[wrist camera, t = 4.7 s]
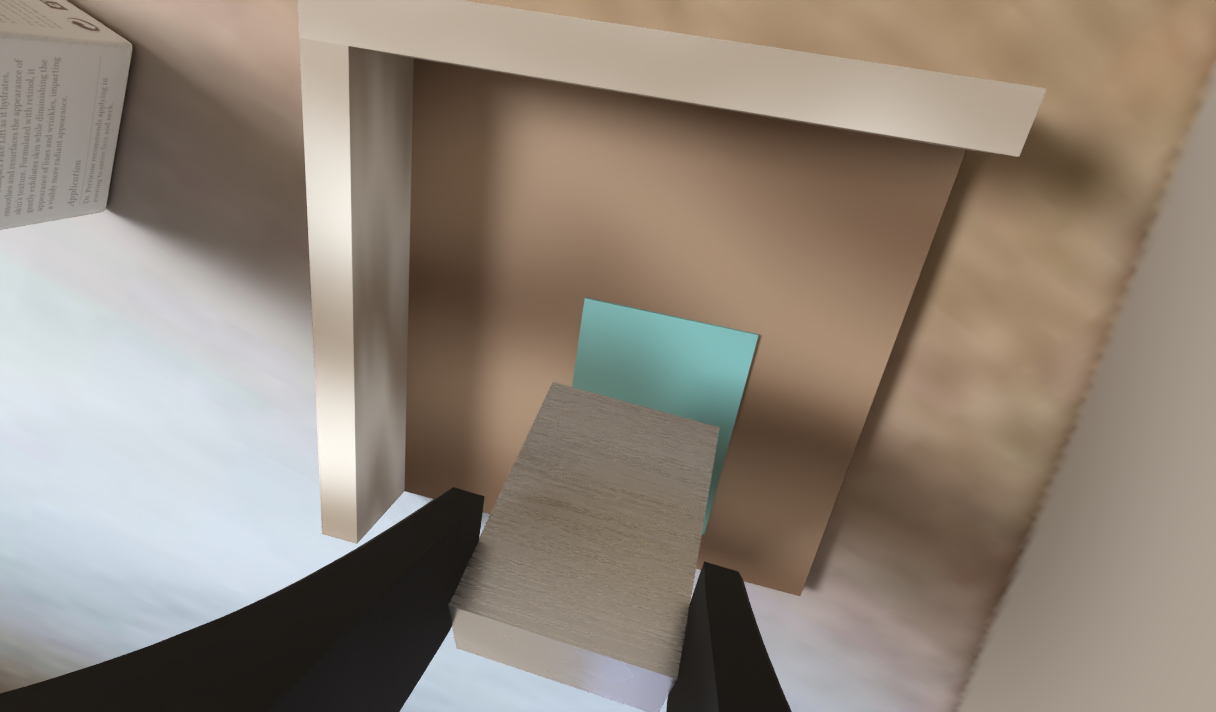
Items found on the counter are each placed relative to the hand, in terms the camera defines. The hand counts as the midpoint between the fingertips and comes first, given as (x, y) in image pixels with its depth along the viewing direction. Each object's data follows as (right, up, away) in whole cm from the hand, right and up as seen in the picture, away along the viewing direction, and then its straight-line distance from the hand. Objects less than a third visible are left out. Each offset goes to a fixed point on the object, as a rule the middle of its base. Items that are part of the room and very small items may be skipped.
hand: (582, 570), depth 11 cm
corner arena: (+1, +4, +7) cm, 9 cm away
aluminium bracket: (+1, +1, +5) cm, 5 cm away
